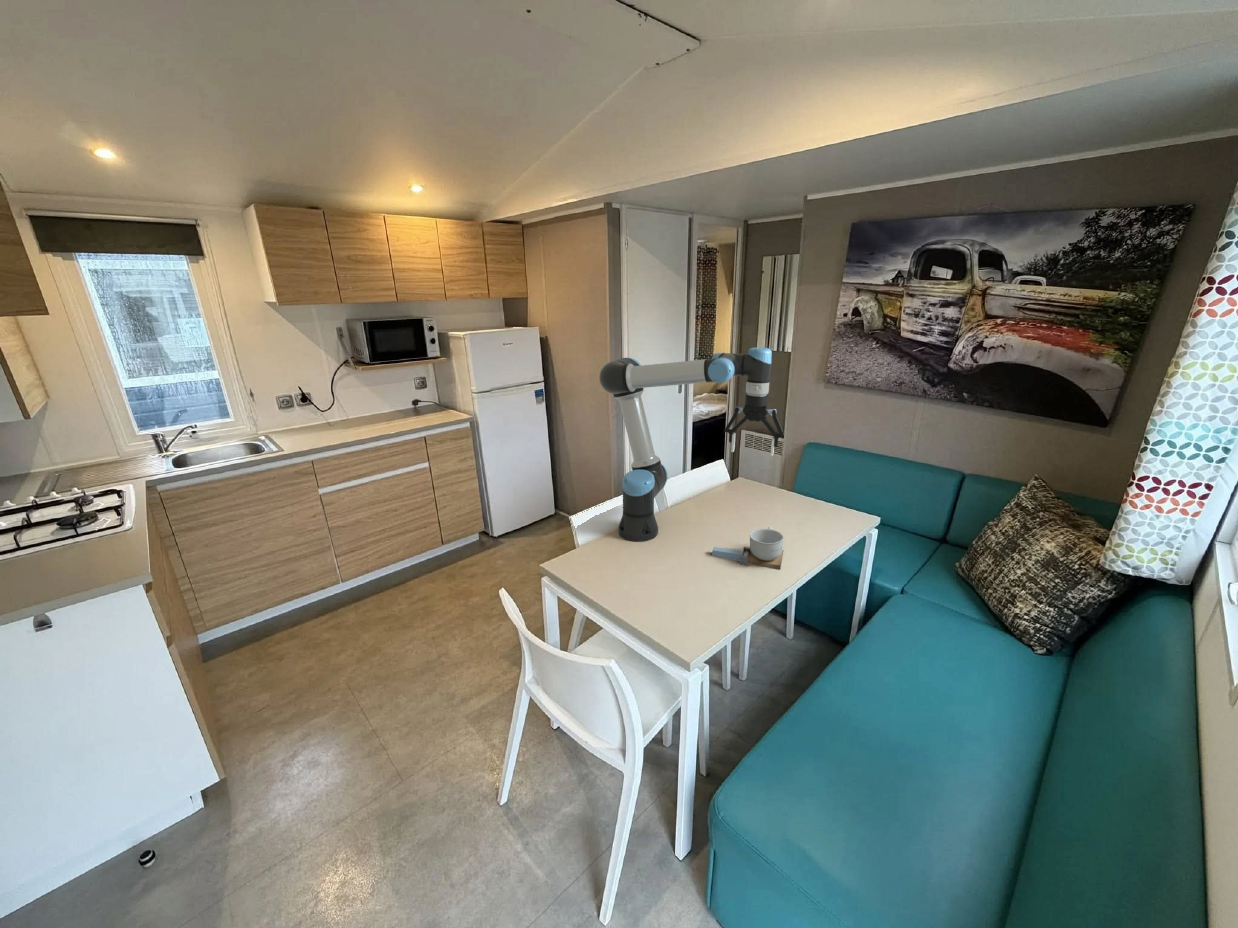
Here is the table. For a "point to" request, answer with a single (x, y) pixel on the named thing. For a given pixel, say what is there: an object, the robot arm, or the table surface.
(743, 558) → the hinge cheek
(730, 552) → the leg
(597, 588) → the table surface
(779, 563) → the board
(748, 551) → the hinge cheek
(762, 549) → the teacup
